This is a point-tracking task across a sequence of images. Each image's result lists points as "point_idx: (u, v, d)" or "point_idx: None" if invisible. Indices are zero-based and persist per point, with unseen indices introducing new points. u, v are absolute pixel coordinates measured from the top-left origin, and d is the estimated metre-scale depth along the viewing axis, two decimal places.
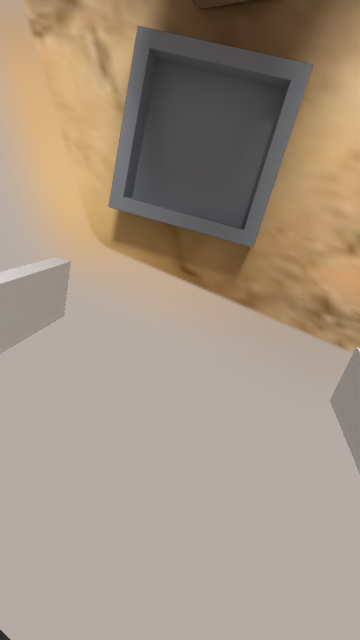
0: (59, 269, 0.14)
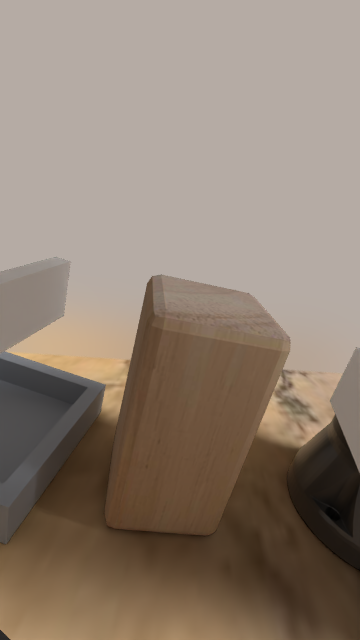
0: (59, 269, 0.14)
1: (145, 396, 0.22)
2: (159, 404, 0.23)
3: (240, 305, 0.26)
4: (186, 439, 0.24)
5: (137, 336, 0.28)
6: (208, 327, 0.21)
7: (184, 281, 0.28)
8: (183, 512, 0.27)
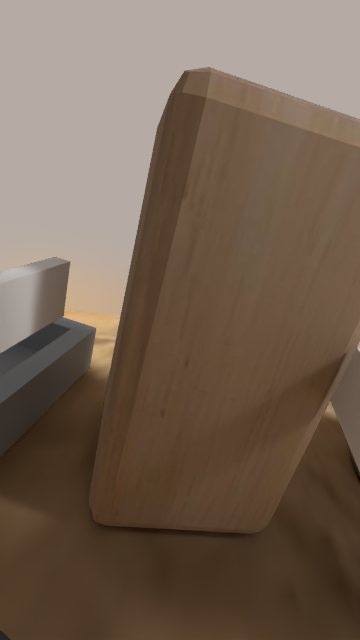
0: (59, 269, 0.14)
1: (163, 265, 0.11)
2: (191, 285, 0.12)
3: None
4: (235, 360, 0.13)
5: None
6: (296, 105, 0.10)
7: None
8: (220, 496, 0.16)
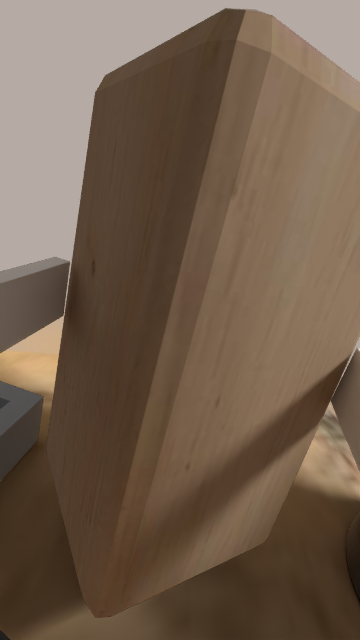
0: (58, 269, 0.14)
1: (202, 288, 0.08)
2: (230, 308, 0.09)
3: None
4: (265, 384, 0.11)
5: (93, 206, 0.13)
6: (349, 79, 0.08)
7: None
8: (236, 527, 0.15)
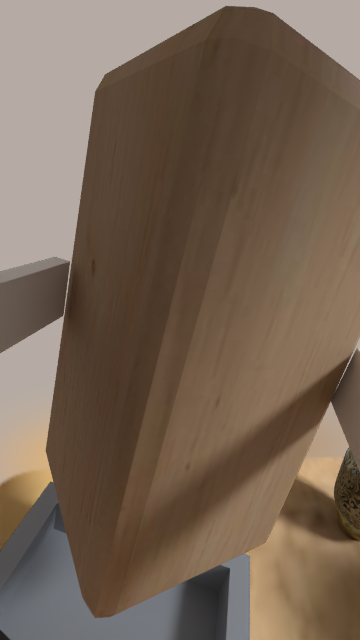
0: (58, 269, 0.14)
1: (202, 287, 0.08)
2: (231, 307, 0.09)
3: None
4: (265, 384, 0.11)
5: (93, 205, 0.13)
6: (350, 77, 0.08)
7: None
8: (236, 528, 0.15)
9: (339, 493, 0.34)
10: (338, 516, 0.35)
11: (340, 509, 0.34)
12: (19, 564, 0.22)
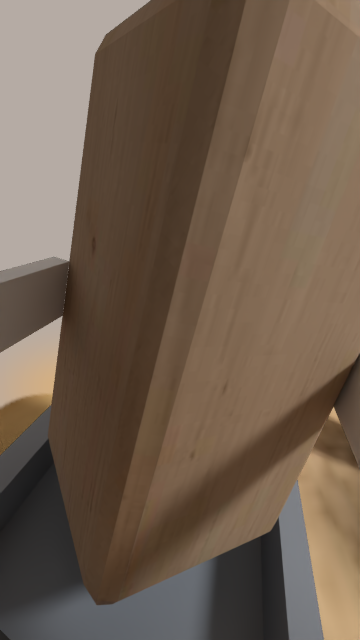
0: (58, 269, 0.14)
1: (210, 263, 0.08)
2: (241, 286, 0.08)
3: None
4: (275, 370, 0.11)
5: (93, 179, 0.12)
6: None
7: None
8: (241, 517, 0.14)
9: None
10: None
11: None
12: (34, 459, 0.19)
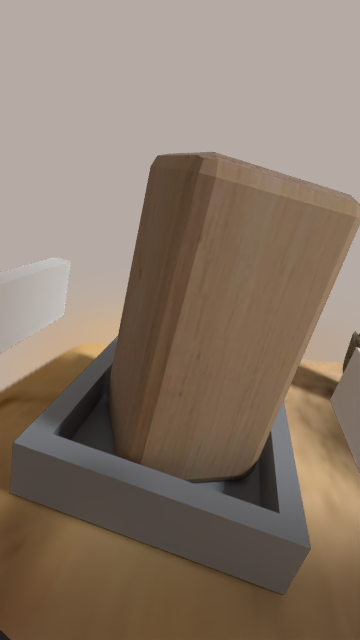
0: (59, 269, 0.14)
1: (184, 288, 0.16)
2: (203, 300, 0.17)
3: None
4: (232, 351, 0.18)
5: (143, 236, 0.21)
6: (272, 178, 0.15)
7: None
8: (220, 452, 0.22)
9: None
10: None
11: None
12: (110, 367, 0.29)
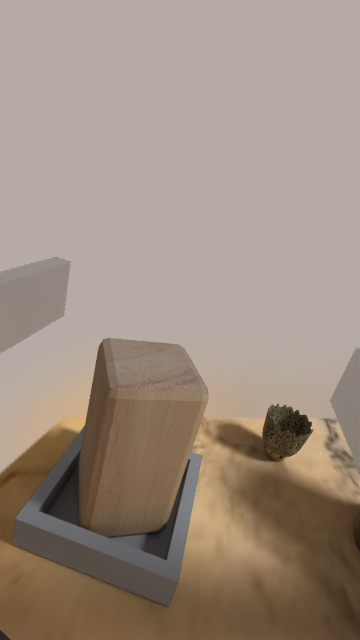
0: (59, 269, 0.14)
1: (106, 444, 0.30)
2: (118, 448, 0.31)
3: (172, 362, 0.34)
4: (139, 468, 0.33)
5: (94, 389, 0.35)
6: (149, 392, 0.29)
7: (128, 343, 0.36)
8: (140, 519, 0.36)
9: (264, 431, 0.55)
10: (265, 447, 0.57)
11: (264, 441, 0.55)
12: (80, 450, 0.43)
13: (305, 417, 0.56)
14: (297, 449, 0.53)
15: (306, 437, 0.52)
